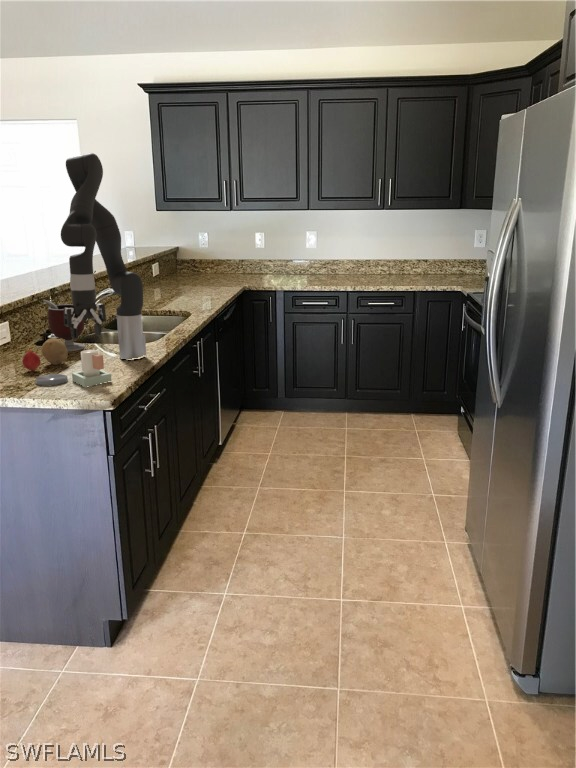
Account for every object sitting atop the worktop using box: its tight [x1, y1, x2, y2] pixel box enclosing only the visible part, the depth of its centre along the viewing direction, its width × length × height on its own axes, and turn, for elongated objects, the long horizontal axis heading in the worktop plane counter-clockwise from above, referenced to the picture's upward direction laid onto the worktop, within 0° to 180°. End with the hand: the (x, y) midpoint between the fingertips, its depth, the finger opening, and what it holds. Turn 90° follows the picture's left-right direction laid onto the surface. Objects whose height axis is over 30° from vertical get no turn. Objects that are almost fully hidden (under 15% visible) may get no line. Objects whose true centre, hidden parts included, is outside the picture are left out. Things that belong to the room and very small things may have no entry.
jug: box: [80, 349, 105, 377], centre depth 198 cm, size 9×6×10 cm, turn 53°
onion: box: [22, 349, 41, 372], centre depth 211 cm, size 6×6×8 cm
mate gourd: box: [42, 299, 86, 352], centre depth 243 cm, size 16×14×20 cm
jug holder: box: [71, 369, 112, 388], centre depth 200 cm, size 9×9×3 cm
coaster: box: [35, 373, 69, 386], centre depth 200 cm, size 10×10×1 cm
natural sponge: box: [40, 337, 69, 366], centre depth 220 cm, size 9×9×10 cm
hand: (86, 337), depth 196 cm, fingers open, 8 cm apart
